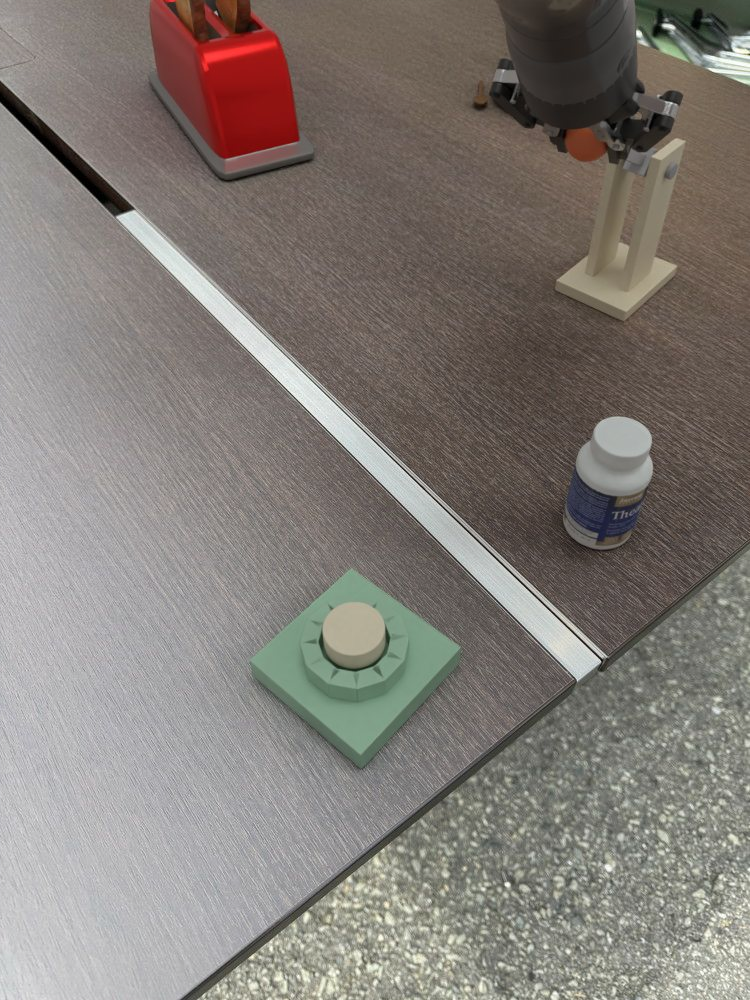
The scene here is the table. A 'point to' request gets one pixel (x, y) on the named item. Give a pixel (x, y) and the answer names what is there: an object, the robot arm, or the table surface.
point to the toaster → (226, 85)
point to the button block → (356, 671)
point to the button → (354, 635)
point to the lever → (603, 151)
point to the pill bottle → (609, 484)
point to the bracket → (630, 269)
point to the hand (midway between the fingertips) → (592, 145)
